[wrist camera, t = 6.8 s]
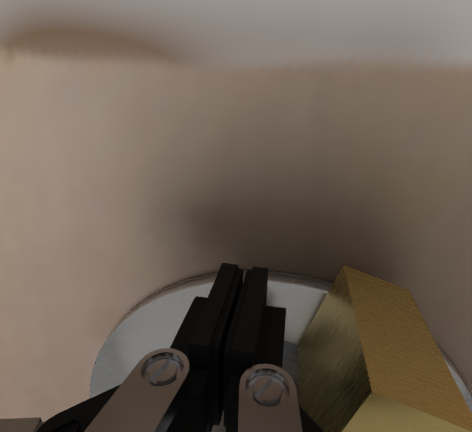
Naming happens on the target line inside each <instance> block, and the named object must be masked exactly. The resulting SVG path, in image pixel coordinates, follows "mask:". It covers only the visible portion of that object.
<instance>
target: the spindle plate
mask: <svg viewBox="0 0 472 432" xmlns="http://www.w3.org/2000/svg"><path fill="white" fill-rule="evenodd" d="M246 271H247V270H243V281H244V277H245V274H246ZM217 274H218V273H212V274H207V275H203V276H198V277H194V278H189V279H187V280H184V281H181V282H178V283H176V284H173V285H170V286H168V287H166V288H164V289H162V290H160V291H158V292H156V293H155V294H153V295H151V296H149V297H147V298H146V299H145V300H143V301H142V302H141V303H140V304H138V305H137V306H136V307H134V308H133V309H132V310H131V311H130V312H129V313H128V314H127V315H126V316H125V317H124V318H123V320H122V321H121V322H120V323H119V324H118V325H117V327H116V328H115V329H114V331H113V332H112V333H111V335H110V336H109V337H108V339H107V340H106V342H105V344H104V345H103V347H102V348H101V350H100V352H99V353H98V356H97V359H96V361H95V364H94V367H93V370H92V376H91V382H90V398H92V397H94V396H97V395H99V394H101V393H103V392H105V391H107V390H109V389H111V388H114V387H116V386H118V385H120V384H122V383H123V381H124V380H125V379H126V378H127V376H128V375H129V374H130V373H131V371H132V370H133V369H134V367H135V366H136V365H137V364H138V362H139V361H140V360H141V359H142V358H143V357H144V356H145V355H147V354H148V353H150V352H152V351H155V350H158V349H163V348H170V346H171V344H172V342H173V340H174V338H175V336H176V334H177V332H178V330H179V328H180V326H181V324H182V322H183V320H184V318H185V316H186V314H187V312H188V310H189V308H190V306H191V304H192V302H193V300H194V298H195V297H196V296H199V297H206V298H207V297H208V295H209V293H210V291H211V288H212V286H213V284H214V281H215V279H216V277H217ZM332 285H333V282H329V281H325V280H321V279H317V278H313V277H309V276H305V275H300V274H293V273H285V272H278V271H268V284H267V299H266V305H267V306H274V307H282V308H286V320H285V335H284V341H286V342H289V343H292V344H295V345H299V344H300V342H301V340H302V338H303V336H304V335H305V333H306V331H307V329H308V327H309V326H310V324H311V322H312V320H313V319H314V317H315V315H316V313H317V311H318V310H319V308H320V306H321V304H322V303H323V301H324V299H325V297H326V295H327V294H328V292H329V290H330V288H331V287H332ZM437 346H438V345H437ZM438 348H439V347H438ZM439 350H440V352H441V354H442V356H443V358H444V360H445V362H446V364H447V366H448V368H449V370H450V372H451V374H452V376H453V378H454V380H455V382H456V384H457V386H458V388H459V390H460V392H461V393H462V395H463V397H464V399H465V401H466V403H467V405H468V407H469V409H470V411H471V413H472V396H471V394H470V393H469V391H468V389H467V387H466V385H465V383H464V382H463V380H462V378H461V377H460V375H459V373H458V372H457V370H456V368H455V367H454V365H453V363H452V362H451V361H450V359H449V358H448V357H447V356H446V355H445V354H444V352H443V351H442V350H441V349H440V348H439Z"/></svg>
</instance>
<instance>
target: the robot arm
mask: <svg viewBox="0 0 472 432" xmlns="http://www.w3.org/2000/svg"><path fill="white" fill-rule="evenodd" d="M267 284H268V268H262V267H253V268H252V270H247V271H246V274H245V277H244V281H243V269H238V265H236V264H227V263H222V265H221V268H220V270H219V272H218V274H217V277H216V279H215V281H214V284H213V286H212V288H211V291H210V293H209V295H208V297H207V298H206V297H199V296H196V297H195V298H194V300H193V302H192V304H191V306H190V308H189V310H188V312H187V314H186V316H185V318H184V320H183V322H182V324H181V326H180V328H179V330H178V332H177V334H176V336H175V338H174V340H173V342H172V344H171V346H170V348H163V349H158V350H155V351H152V352H150V353H148V354H147V355H145V356H144V357H143V358H142V359H141V360H140V361H139V362H138V364H137V365H136V366H135V367H134V369H133V370H132V371H131V373H130V374H129V375H128V376H127V378H126V379H125V380H124V381H123V383H122V384H120V385H118V386H116V387H114V388H111V389H109V390H107V391H105V392H103V393H101V394H99V395H97V396H94V397H92V398H90V399H88V400H86V401H84V402H82V403H80V404H77V405H75V406H73V407H71V408H69V409H67V410H65V411H62V412H60V413H58V414H57V415H55V416H53V417H51V418H50V419H48V420H47V421H46V422H42V421H41V417H39V418H15V419H0V432H211V431H212V427H213V425H217V426H219V425H220V421H221V417H222V413H223V409H224V427H226V432H324V431H323V430H322V429H321V428H320V427H319V426H318V425H317V424H316V422H315V421H314V420H313V419H312V418H311V417H310V416H309V415H308V414H307V413H306V412H305V411H304V410H303V409H302V407H301V406H300V405H299V404H298V398H297V392H296V386H295V383H294V380H293V379H292V377H291V376H290V375H289V373H287V372H286V371H285V370H283V369H282V364H283V349H284V335H285V320H286V308H282V307H274V306H267V305H266V299H267Z"/></svg>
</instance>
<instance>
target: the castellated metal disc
mask: <svg viewBox="0 0 472 432" xmlns="http://www.w3.org/2000/svg"><path fill="white" fill-rule="evenodd" d="M282 369H283V370H285V371H286V372H287V373H289V375H290V376H291V377H292V379H293V380H294V383H295V386H296V392H297V398H298V404H299V405H300V406H301V407H302V409H303V410H304V411H305V412H306V413H307V414H308V415H309V416H310V417H311V418H312V419H313V420H314V421H315V422H316V424H317V425H318V426H319V427H320V428H321V429H322V430H323V431H324V432H472V413H471V411H470V409H469V407H468V405H467V403H466V401H465V399H464V397H463V395H462V393H461V392H460V390H459V388H458V386H457V384H456V382H455V380H454V378H453V376H452V374H451V372H450V370H449V368H448V366H447V364H446V362H445V360H444V358H443V356H442V354H441V352H440V350H439V348H438V346H437V344H436V342H435V340H434V338H433V336H432V334H431V333H430V331H429V329H428V327H427V325H426V323H425V321H424V319H423V317H422V315H421V313H420V311H419V309H418V307H417V305H416V303H415V301H414V299H413V297H412V295H411V293H410V291H409V290H408V289H405V288H402V287H400V286H397V285H395V284H392V283H389V282H387V281H384V280H382V279H379V278H376V277H374V276H371V275H369V274H366V273H364V272H361V271H358V270H356V269H353V268H351V267H348V266H345V265H343V267H342V269H341V271H340V272H339V274H338V276H337V278H336V279H335V281H334V283H333V285H332V287H331V288H330V290H329V292H328V294H327V295H326V297H325V299H324V301H323V303H322V304H321V306H320V308H319V310H318V311H317V313H316V315H315V317H314V319H313V320H312V322H311V324H310V326H309V327H308V329H307V331H306V333H305V335H304V336H303V338H302V340H301V342H300V344H299V345H295V344H292V343H289V342H286V341H284V349H283V364H282ZM211 432H226V427H224V409H223V413H222V417H221V421H220V425H219V426H217V425H213V427H212V431H211Z"/></svg>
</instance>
